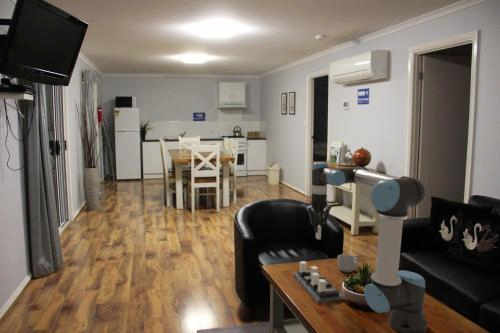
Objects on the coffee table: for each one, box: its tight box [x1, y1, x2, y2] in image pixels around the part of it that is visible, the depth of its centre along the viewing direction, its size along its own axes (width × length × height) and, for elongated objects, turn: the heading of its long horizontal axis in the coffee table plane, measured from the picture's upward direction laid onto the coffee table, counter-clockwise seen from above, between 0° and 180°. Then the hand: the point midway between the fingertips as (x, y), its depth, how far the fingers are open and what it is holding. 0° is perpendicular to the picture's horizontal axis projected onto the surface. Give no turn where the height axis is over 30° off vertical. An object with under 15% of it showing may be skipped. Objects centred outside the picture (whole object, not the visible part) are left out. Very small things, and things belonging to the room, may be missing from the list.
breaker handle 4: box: [318, 279, 326, 292], centre depth 194 cm, size 3×3×5 cm
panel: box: [293, 268, 345, 304], centre depth 207 cm, size 32×14×4 cm, turn 15°
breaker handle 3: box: [311, 273, 319, 285], centre depth 201 cm, size 3×3×5 cm
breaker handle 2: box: [310, 265, 319, 276], centre depth 210 cm, size 3×3×5 cm
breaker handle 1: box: [299, 260, 308, 273], centre depth 217 cm, size 3×3×5 cm
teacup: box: [337, 253, 359, 273], centre depth 227 cm, size 14×11×8 cm
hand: (318, 238), depth 203 cm, fingers closed
